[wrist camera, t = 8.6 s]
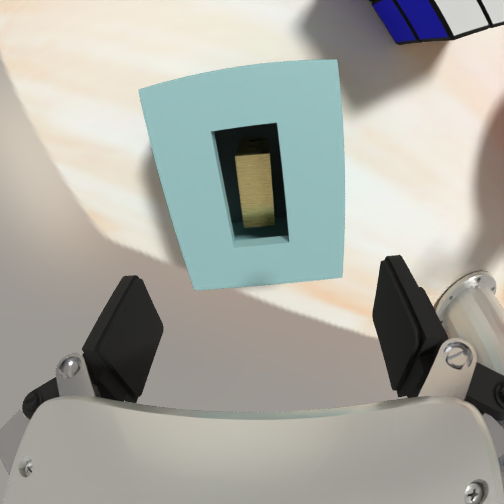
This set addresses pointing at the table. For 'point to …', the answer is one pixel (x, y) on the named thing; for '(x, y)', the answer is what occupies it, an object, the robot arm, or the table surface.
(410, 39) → the puzzle cube
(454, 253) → the table surface
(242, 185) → the block
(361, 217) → the table surface
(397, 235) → the table surface
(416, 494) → the robot arm
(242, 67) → the teal tissue box
